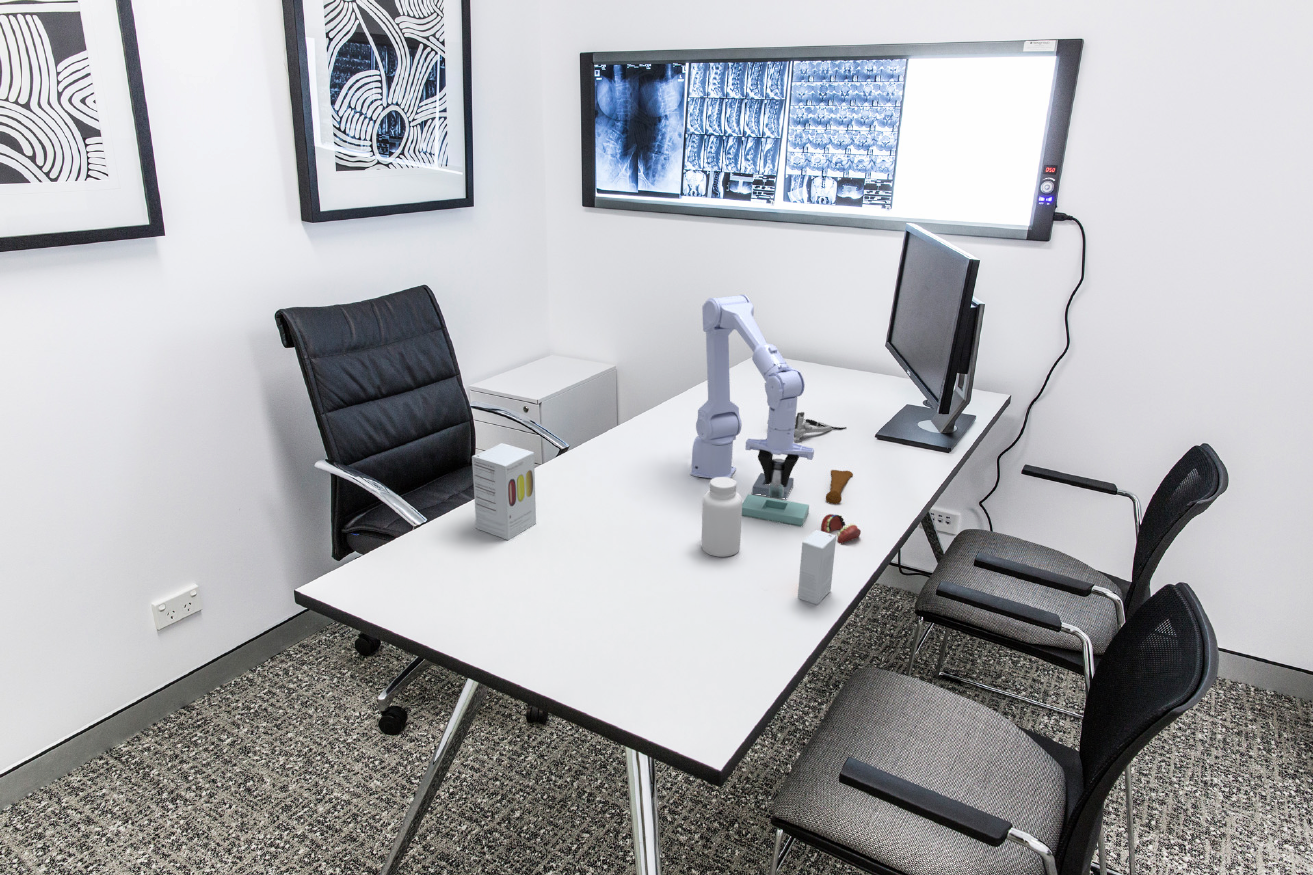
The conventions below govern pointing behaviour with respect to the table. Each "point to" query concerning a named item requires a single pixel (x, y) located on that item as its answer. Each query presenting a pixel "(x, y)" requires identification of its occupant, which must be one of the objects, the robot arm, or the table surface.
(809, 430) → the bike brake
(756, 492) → the socket block
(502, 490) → the supplement box
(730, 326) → the robot arm
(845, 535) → the dentures
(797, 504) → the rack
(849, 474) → the primitive tool
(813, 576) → the skincare box
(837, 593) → the table surface
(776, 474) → the glass vial
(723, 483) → the pill bottle
